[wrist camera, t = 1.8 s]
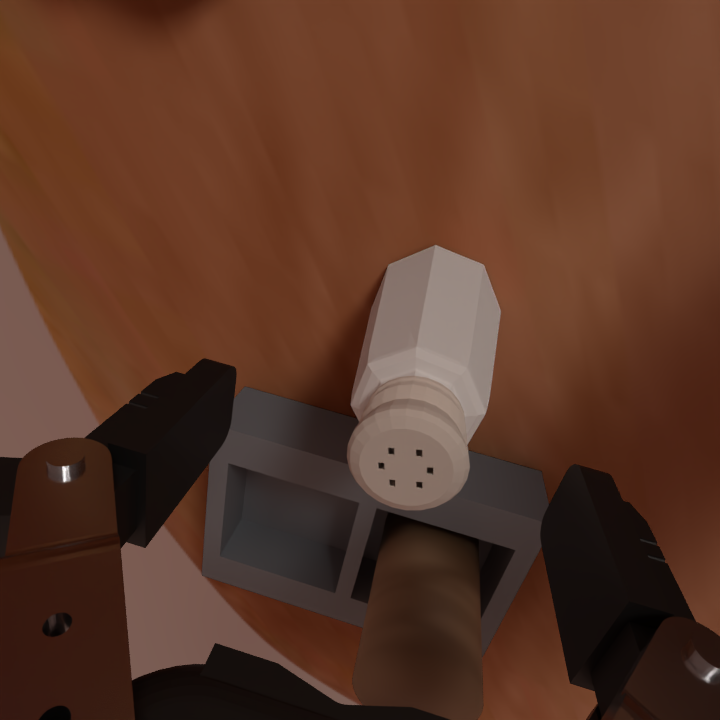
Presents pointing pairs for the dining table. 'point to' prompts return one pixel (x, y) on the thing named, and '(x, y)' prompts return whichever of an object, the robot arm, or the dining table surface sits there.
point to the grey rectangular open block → (346, 514)
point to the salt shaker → (423, 379)
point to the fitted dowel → (423, 623)
